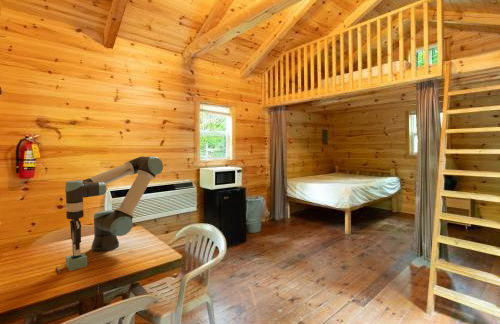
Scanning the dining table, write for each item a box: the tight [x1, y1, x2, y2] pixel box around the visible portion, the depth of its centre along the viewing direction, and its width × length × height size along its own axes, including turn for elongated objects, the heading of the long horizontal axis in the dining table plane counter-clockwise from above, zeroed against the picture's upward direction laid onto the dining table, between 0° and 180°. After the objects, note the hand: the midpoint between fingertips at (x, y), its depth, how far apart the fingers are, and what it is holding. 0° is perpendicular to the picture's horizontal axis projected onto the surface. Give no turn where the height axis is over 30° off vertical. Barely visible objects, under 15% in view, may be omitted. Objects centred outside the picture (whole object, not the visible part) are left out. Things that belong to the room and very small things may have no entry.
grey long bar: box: [71, 231, 80, 259], centre depth 138 cm, size 3×3×17 cm
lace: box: [55, 266, 62, 274], centre depth 133 cm, size 8×1×1 cm, turn 45°
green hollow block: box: [65, 252, 88, 272], centre depth 138 cm, size 8×8×5 cm
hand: (76, 254), depth 138 cm, fingers closed on grey long bar, 3 cm apart
